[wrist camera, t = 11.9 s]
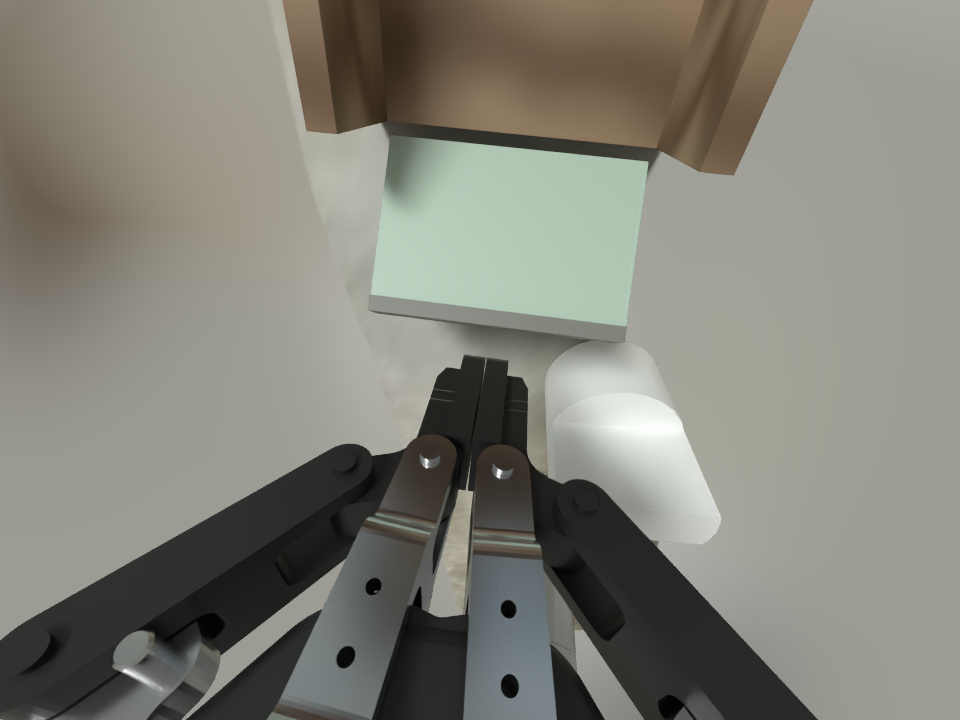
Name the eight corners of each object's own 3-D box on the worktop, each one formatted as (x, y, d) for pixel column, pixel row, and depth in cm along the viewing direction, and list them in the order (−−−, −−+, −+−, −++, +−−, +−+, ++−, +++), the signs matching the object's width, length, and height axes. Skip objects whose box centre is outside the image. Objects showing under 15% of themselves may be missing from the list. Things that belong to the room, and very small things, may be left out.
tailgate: (638, 174, 19) (615, 343, 19) (397, 149, 20) (377, 313, 20) (649, 160, 18) (624, 342, 18) (390, 133, 18) (367, 309, 19)
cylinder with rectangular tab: (673, 340, 27) (750, 482, 17) (644, 425, 32) (691, 569, 23) (548, 336, 28) (556, 468, 18) (541, 419, 33) (544, 554, 24)
